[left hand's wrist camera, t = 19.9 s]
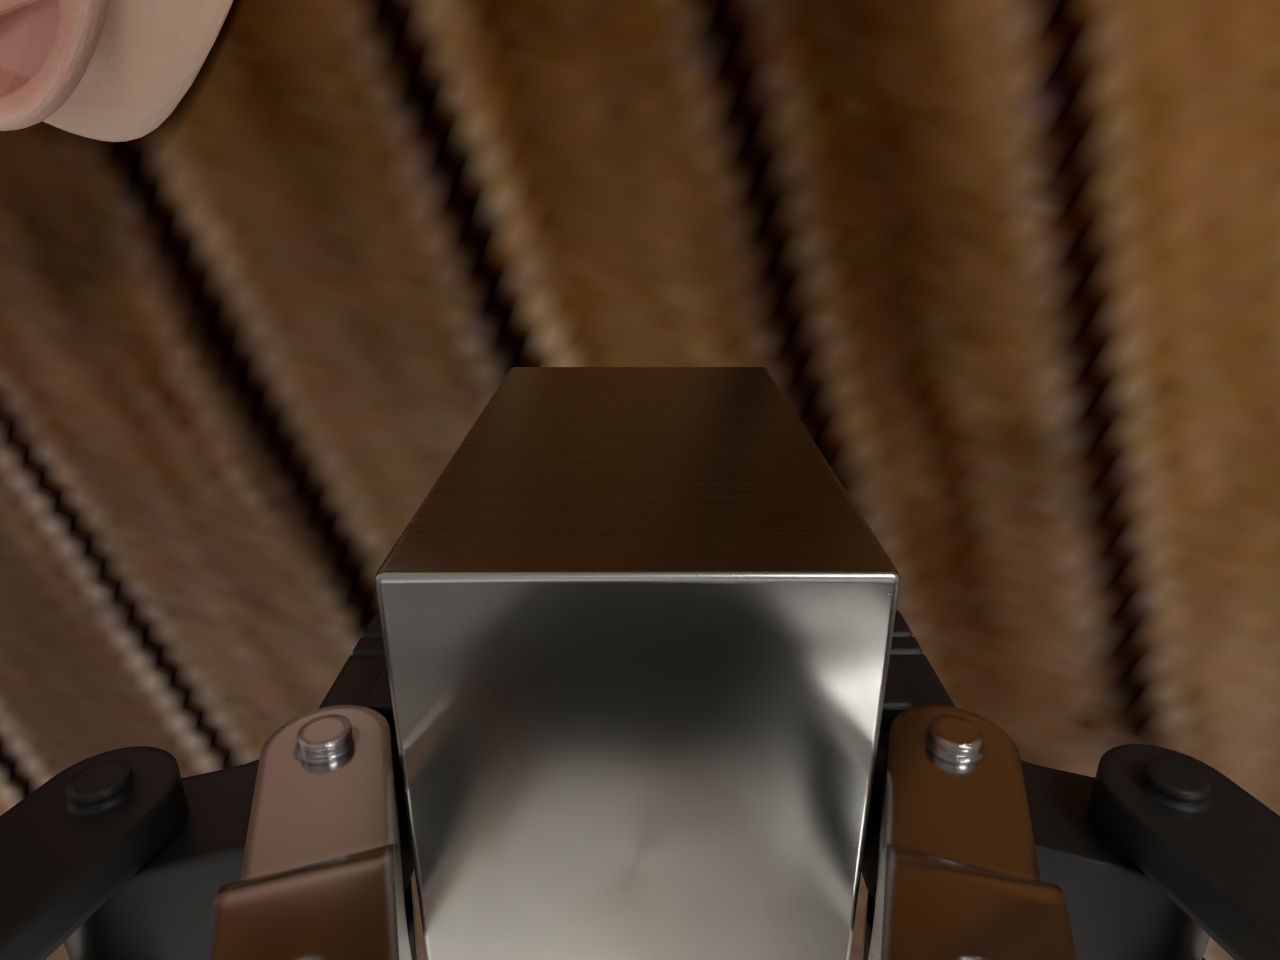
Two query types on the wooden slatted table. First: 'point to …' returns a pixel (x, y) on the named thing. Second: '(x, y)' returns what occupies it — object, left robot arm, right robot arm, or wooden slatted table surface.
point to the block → (637, 675)
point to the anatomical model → (101, 62)
